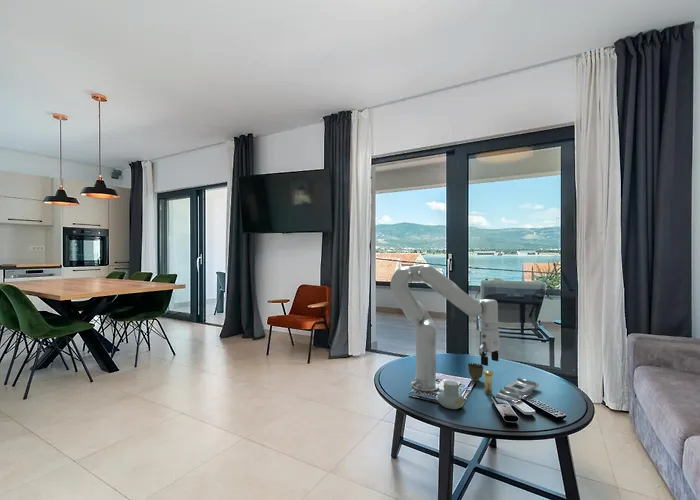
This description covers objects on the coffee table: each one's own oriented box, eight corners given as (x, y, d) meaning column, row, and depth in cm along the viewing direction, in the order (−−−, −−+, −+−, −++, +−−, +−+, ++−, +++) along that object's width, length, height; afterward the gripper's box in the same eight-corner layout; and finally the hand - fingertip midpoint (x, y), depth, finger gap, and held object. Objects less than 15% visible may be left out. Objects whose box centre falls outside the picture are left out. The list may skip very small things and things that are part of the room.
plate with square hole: (516, 403, 152) (516, 393, 152) (496, 396, 159) (496, 387, 159) (538, 389, 168) (538, 381, 168) (519, 384, 175) (519, 376, 175)
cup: (484, 384, 174) (484, 367, 174) (468, 382, 176) (469, 366, 176) (481, 378, 182) (482, 363, 182) (467, 377, 183) (467, 362, 183)
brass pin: (490, 395, 160) (490, 373, 160) (481, 392, 163) (481, 371, 164) (494, 393, 163) (495, 371, 163) (486, 390, 166) (486, 369, 166)
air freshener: (452, 400, 155) (452, 377, 155) (467, 407, 148) (467, 383, 148) (434, 405, 149) (434, 382, 149) (449, 413, 142) (449, 388, 142)
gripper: (487, 330, 155) (488, 368, 155) (505, 324, 166) (506, 360, 166) (472, 327, 161) (472, 364, 160) (490, 322, 172) (491, 357, 172)
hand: (489, 362), depth 163 cm, fingers open, 9 cm apart
